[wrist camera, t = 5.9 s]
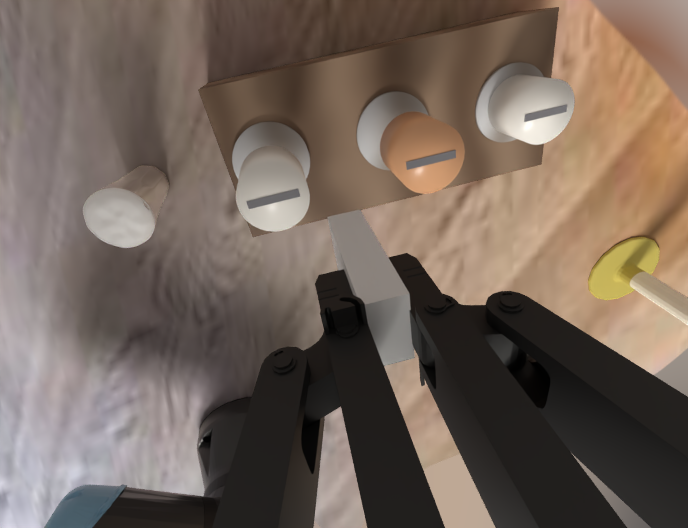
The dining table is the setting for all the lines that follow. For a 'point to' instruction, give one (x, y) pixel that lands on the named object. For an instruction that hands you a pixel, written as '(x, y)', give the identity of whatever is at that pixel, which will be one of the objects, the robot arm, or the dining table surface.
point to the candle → (635, 276)
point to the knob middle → (422, 151)
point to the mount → (383, 107)
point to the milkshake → (127, 207)
